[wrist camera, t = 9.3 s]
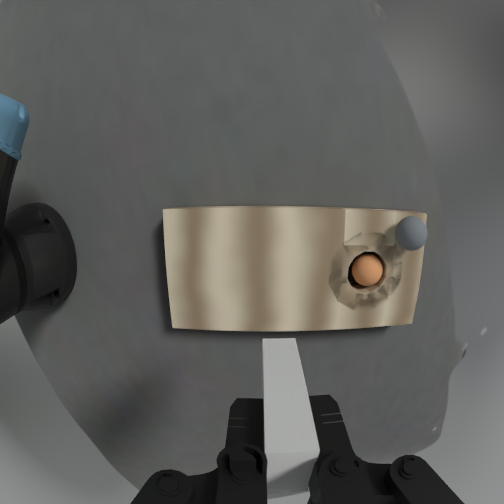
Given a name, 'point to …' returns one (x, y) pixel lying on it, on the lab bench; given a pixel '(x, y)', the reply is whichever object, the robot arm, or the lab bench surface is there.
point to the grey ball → (411, 233)
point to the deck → (286, 268)
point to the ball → (367, 269)
